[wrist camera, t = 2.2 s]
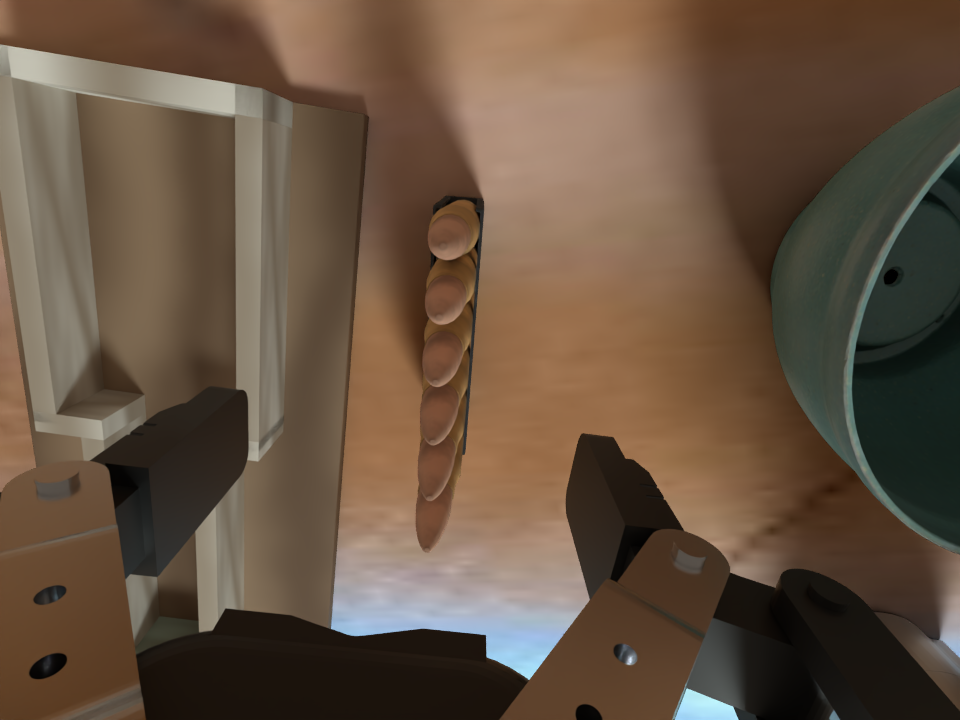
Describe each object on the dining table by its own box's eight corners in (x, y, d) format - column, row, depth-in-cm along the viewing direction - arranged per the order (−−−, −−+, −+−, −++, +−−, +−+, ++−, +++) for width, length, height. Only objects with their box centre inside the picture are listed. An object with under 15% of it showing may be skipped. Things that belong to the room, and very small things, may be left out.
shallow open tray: (368, 117, 22) (345, 102, 18) (330, 638, 31) (310, 696, 28) (-9, 54, 21) (-110, 25, 18) (69, 606, 31) (14, 661, 27)
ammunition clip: (444, 195, 23) (404, 201, 12) (484, 198, 23) (485, 207, 12) (433, 408, 26) (394, 574, 15) (468, 411, 26) (456, 579, 15)
